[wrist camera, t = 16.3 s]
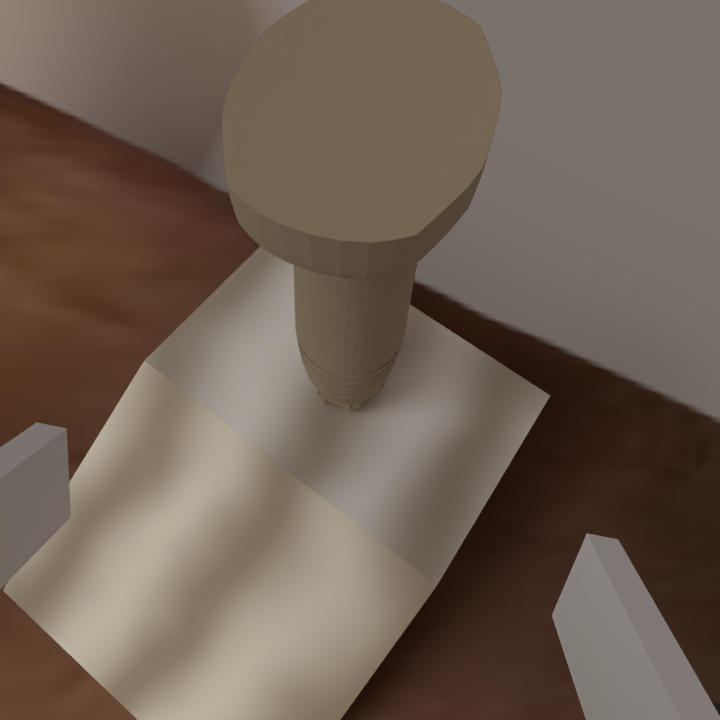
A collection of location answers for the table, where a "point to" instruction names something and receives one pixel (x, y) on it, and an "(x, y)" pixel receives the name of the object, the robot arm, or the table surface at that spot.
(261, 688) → the ramp bench
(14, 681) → the table surface
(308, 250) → the handle
